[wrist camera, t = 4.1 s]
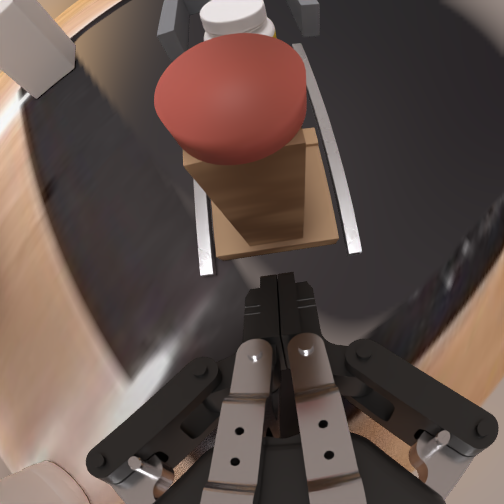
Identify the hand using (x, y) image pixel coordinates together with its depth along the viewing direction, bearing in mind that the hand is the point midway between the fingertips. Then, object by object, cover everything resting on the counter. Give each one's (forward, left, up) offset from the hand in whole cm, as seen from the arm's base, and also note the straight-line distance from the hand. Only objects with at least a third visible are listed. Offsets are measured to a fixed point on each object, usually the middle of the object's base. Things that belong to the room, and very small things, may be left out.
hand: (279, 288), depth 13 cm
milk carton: (-35, +22, -5) cm, 42 cm away
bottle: (-16, -26, -5) cm, 31 cm away
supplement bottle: (-5, +15, -5) cm, 17 cm away
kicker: (-2, +5, -4) cm, 7 cm away
